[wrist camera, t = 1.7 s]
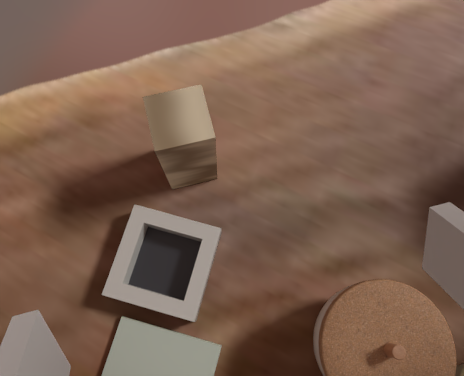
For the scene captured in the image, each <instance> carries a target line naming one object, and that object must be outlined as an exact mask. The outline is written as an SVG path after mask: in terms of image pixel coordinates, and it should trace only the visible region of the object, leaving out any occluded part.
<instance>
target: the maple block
mask: <svg viewBox="0 0 464 376" xmlns="http://www.w3.org/2000/svg"><path fill="white" fill-rule="evenodd" d="M143 100H144V105H145V109H146V114H147V119H148V123H149V128H150V132H151V137H152V142H153V146H154V151H155V153H156V156H157V158H158V160H159V162H160V164H161V166H162V169H163V171H164V173H165V175H166V177H167V179H168V182H169V184H170V186H171V188H172V189H176V188H180V187H185V186H189V185H193V184H197V183H201V182H206V181H210V180H214V179H217V162H216V137H215V134H214V130H213V126H212V122H211V119H210V115H209V111H208V107H207V104H206V100H205V96H204V92H203V89H202V85H197V86H192V87H188V88H183V89H178V90H173V91H169V92H164V93H159V94H155V95H150V96H145V97H143Z"/></svg>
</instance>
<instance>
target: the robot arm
mask: <svg viewBox="0 0 464 376" xmlns="http://www.w3.org/2000/svg"><path fill="white" fill-rule="evenodd" d="M422 269H423V270H424V271H425V272H426V273H427V274H428V275H429V276H430V277H431V278H432V279H433V280H434V281H436V282H437V283H438V284H439V285H440V286H441V287H442V288H443V289H444V290H445V291H446V292H447V293H448V294H449V295H450V296H451V297H452V298H453V299H454V300H455V301H456V302H457V303H458V304H459V305H460V306H461V307H462V308H463V309H464V211H462V210H461V209H459V208H458V207H456V206H455V205H453V204H452V203H450V202H447V203H444V204H440V205H436V206H432V207H429V215H428V223H427V231H426V239H425V247H424V256H423V264H422ZM70 369H71V366H70V364H69V362H68V360H67V359H66V357H65V355H64V353H63V352H62V350H61V348H60V347H59V345H58V343H57V341H56V340H55V338H54V336H53V334H52V333H51V331H50V329H49V327H48V326H47V324H46V322H45V321H44V319H43V317H42V315H41V314H40V312H39V310H35V311H31V312H28V313H24V314H20V315H16V316H12V319H11V321H10V324H9V326H8V329H7V331H6V334H5V336H4V339H3V341H2V344H1V346H0V376H69V374H70Z"/></svg>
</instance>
